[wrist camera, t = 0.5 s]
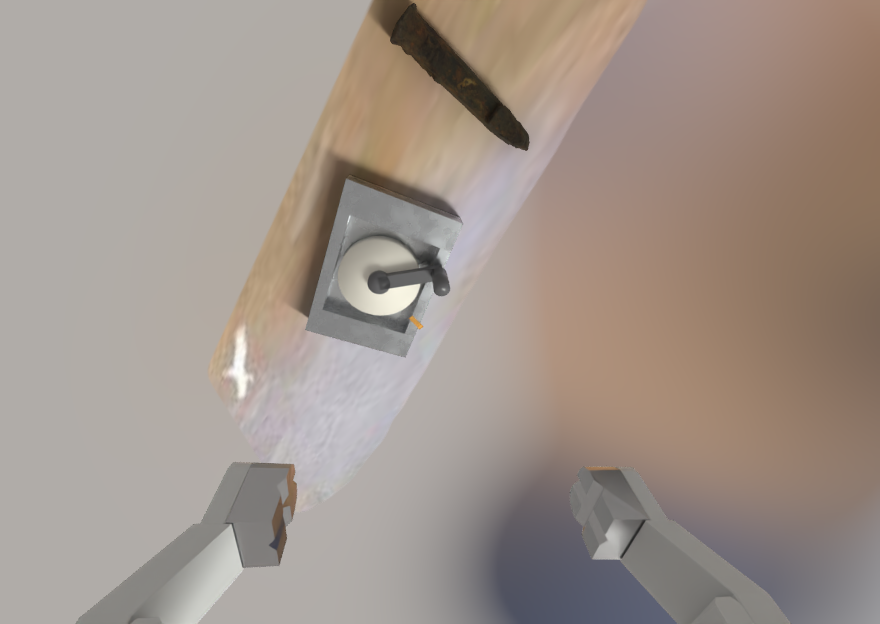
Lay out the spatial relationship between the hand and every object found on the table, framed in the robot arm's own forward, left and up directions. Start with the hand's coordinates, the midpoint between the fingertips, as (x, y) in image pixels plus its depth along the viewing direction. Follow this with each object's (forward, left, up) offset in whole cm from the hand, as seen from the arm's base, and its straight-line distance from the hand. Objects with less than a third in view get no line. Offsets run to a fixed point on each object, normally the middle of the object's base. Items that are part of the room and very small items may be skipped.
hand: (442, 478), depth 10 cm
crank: (+11, +1, -41) cm, 42 cm away
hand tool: (-13, +2, -42) cm, 44 cm away
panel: (+12, -1, -42) cm, 44 cm away
